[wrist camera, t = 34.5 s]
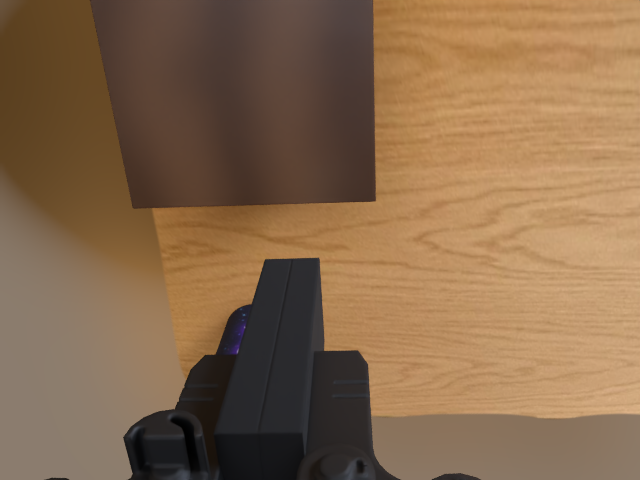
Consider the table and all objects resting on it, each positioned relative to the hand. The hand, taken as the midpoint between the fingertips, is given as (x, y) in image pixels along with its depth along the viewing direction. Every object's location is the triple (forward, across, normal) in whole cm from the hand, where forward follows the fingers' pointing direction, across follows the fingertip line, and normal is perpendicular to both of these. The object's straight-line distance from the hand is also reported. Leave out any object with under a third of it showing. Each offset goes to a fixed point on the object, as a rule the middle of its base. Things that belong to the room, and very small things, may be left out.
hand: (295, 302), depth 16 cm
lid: (+17, -4, +6) cm, 18 cm away
